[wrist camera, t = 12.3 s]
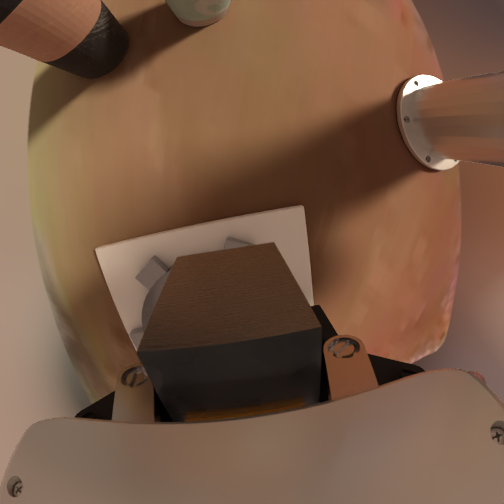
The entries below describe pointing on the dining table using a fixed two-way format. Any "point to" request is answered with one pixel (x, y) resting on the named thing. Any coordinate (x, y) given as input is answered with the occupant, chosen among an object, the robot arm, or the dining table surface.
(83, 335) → the dining table surface
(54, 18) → the travel mug
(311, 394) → the link
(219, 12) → the coffee cup
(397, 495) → the robot arm
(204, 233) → the board
